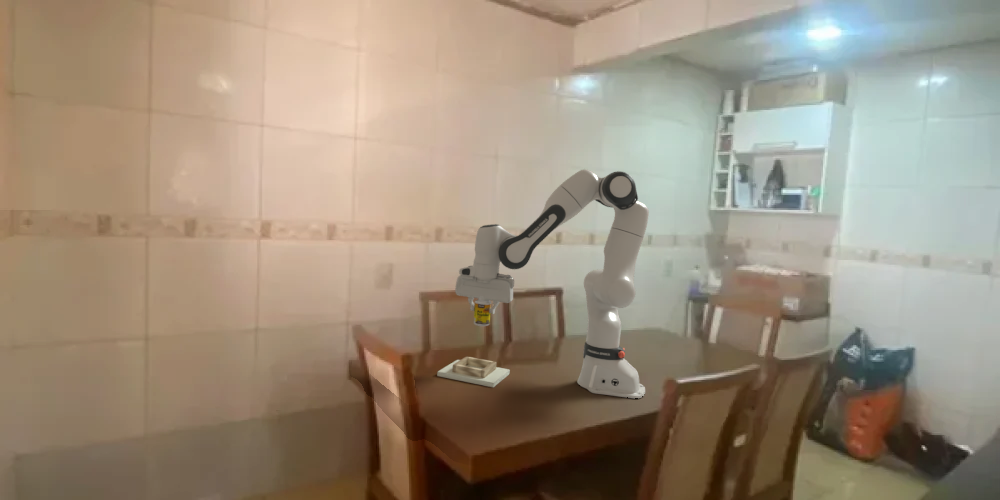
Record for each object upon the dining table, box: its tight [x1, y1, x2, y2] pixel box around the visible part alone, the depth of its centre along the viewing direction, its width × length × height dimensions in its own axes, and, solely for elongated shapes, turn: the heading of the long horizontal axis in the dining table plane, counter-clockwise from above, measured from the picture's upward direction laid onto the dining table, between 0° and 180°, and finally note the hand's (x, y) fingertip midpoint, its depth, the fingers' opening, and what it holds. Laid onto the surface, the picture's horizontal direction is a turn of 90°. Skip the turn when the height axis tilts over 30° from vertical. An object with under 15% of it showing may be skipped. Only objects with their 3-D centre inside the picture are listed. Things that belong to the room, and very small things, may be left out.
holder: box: [436, 355, 511, 388], centre depth 182 cm, size 20×16×4 cm
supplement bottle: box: [473, 296, 492, 327], centre depth 182 cm, size 6×6×10 cm
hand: (482, 311), depth 182 cm, fingers closed on supplement bottle, 5 cm apart
